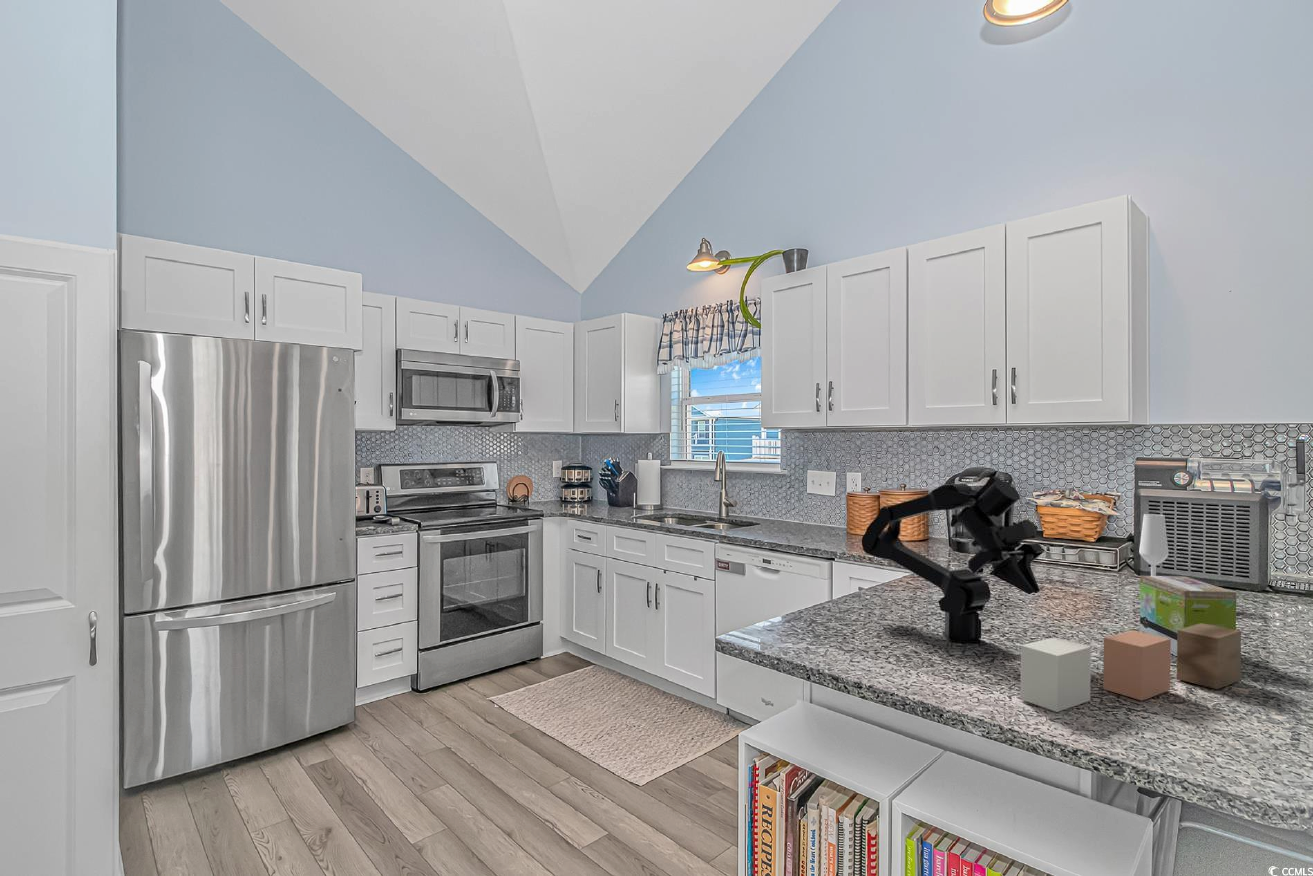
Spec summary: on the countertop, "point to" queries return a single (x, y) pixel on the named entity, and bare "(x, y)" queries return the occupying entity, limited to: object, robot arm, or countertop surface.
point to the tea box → (1183, 606)
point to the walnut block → (1209, 655)
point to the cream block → (1055, 673)
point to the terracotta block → (1136, 664)
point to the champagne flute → (1153, 540)
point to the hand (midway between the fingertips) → (1034, 592)
